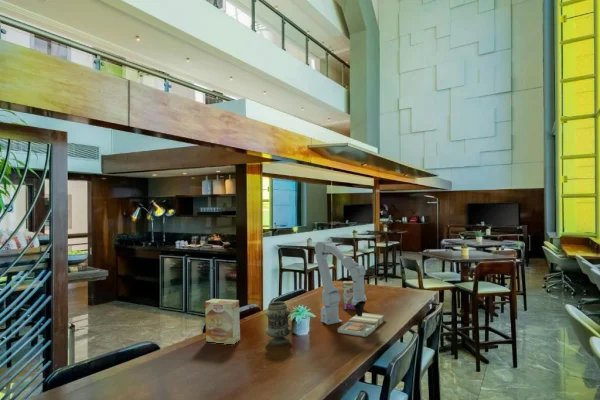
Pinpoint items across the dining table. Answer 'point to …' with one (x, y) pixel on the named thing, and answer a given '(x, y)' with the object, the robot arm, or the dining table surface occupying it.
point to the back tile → (359, 325)
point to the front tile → (354, 328)
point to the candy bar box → (348, 295)
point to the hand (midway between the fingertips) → (359, 316)
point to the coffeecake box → (222, 321)
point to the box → (363, 333)
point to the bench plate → (368, 319)
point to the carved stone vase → (278, 323)
